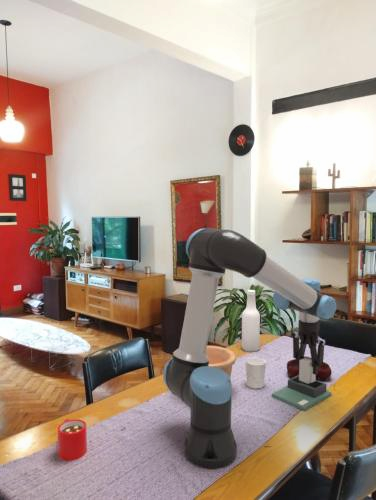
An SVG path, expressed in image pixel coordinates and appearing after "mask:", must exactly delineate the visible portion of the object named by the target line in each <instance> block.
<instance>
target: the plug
mask: <svg viewBox="0 0 376 500" xmlns="http://www.w3.org/2000/svg"><path fill="white" fill-rule="evenodd" d="M311 365H312V359H311V356H306V357H305V358H303V359H301V360H300V361H299V381H302V382H305V383H307V384H309V383H310V366H311Z"/></svg>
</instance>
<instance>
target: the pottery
mask: <svg viewBox="0 0 376 500" xmlns="http://www.w3.org/2000/svg"><path fill="white" fill-rule="evenodd" d="M206 354H207V356H208V357H209V365H208V366H210V367H213V368H219V369H221V370H223V371H224V372H226V373H227V374H228V375H229V377H230V379H231V377H232V371H233V366H234V365H235V363H236V361H237V355H236V354H235V352H234V351H232V350H230V349H228V348H226V347H223V346H218V345H217V346H216V345H207V349H206Z"/></svg>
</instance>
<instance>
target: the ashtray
mask: <svg viewBox="0 0 376 500" xmlns="http://www.w3.org/2000/svg"><path fill="white" fill-rule="evenodd" d="M305 357H306V356H305V355H304V358H305ZM286 370H287V373H288V375H289V376H290V377H291V378H293V377H295V376H297V375H299V369H298V360H297V359H296V358H293V359H291V360H288V361H287V363H286ZM332 373H333V372H332V368H331V367H330V364H329V363H327V362H324V361H323V364H322V365H320V366H318V373H317V374H316V379H318V380H319V381H326V380H328V379H330V378H331V376H332Z"/></svg>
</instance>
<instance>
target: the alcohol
mask: <svg viewBox="0 0 376 500" xmlns="http://www.w3.org/2000/svg"><path fill="white" fill-rule="evenodd" d="M246 296H247V297H246V306H245V309H244V310H243V312H242V314H241V349H242V350H243V351H244V352H247V353H248V352H249V353H256V352H258V351H259V350H260V338H261V337H260V336H261V335H260V331H261V329H260V328H261V327H260V326H261V318H260V317H261V314H260V311H259V310H258V309H257V305H256V290H254V289H248V290H247V295H246Z"/></svg>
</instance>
